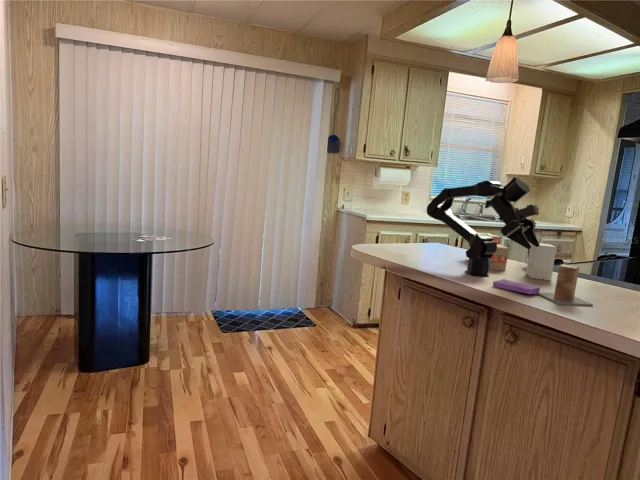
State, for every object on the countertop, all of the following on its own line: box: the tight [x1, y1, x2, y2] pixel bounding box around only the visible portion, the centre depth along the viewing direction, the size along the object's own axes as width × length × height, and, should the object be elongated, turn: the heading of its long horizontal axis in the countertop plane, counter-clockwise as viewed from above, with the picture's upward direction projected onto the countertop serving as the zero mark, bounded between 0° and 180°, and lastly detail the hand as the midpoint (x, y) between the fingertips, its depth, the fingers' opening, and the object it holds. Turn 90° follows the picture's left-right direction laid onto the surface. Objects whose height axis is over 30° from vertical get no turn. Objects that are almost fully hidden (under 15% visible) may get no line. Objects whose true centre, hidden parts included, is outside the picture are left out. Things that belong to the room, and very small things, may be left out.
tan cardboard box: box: [475, 231, 510, 271], centre depth 184 cm, size 21×6×12 cm, turn 1°
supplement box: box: [525, 242, 557, 281], centre depth 166 cm, size 7×7×13 cm
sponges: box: [492, 278, 541, 295], centre depth 144 cm, size 7×13×2 cm, turn 39°
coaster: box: [535, 291, 594, 307], centre depth 136 cm, size 11×11×1 cm
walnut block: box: [554, 263, 580, 301], centre depth 135 cm, size 4×4×10 cm
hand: (534, 247), depth 148 cm, fingers open, 9 cm apart
